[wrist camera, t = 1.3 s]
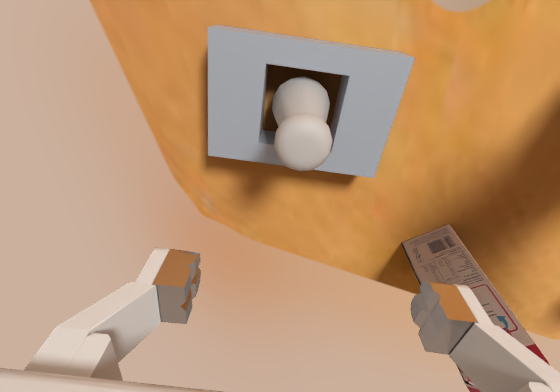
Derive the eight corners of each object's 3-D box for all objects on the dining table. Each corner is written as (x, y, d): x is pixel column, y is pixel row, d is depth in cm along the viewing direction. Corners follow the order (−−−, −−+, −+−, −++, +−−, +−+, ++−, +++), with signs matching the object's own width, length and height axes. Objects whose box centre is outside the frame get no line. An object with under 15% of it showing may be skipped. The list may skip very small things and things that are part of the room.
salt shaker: (265, 83, 31) (250, 123, 20) (318, 63, 30) (332, 95, 19) (284, 133, 34) (279, 192, 23) (333, 117, 33) (352, 172, 22)
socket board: (401, 52, 29) (415, 57, 26) (366, 161, 36) (373, 177, 32) (217, 24, 29) (207, 26, 25) (216, 141, 35) (208, 155, 32)
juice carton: (449, 223, 40) (583, 411, 21) (462, 255, 43) (590, 445, 24) (401, 242, 42) (485, 428, 23) (416, 271, 45) (503, 457, 26)
